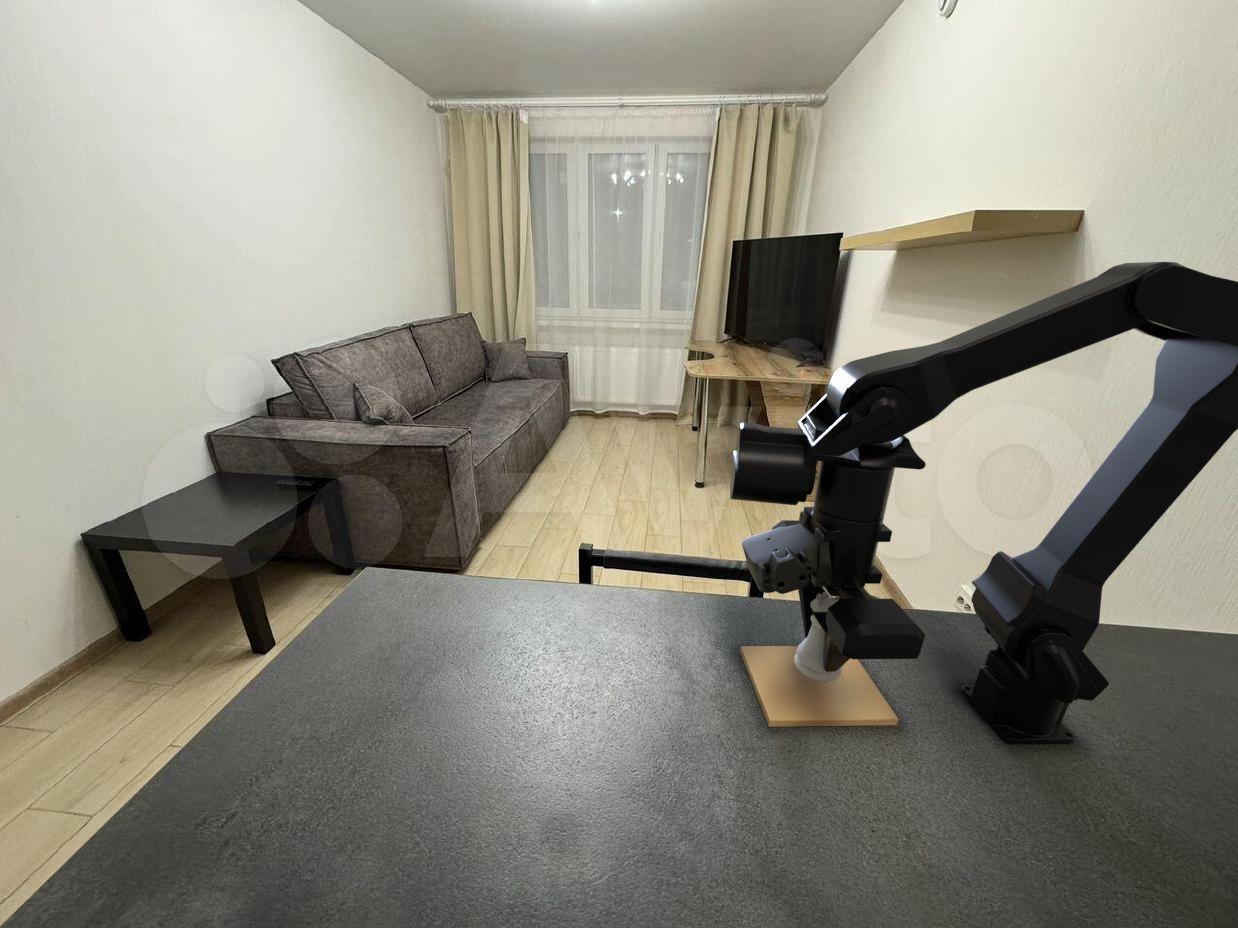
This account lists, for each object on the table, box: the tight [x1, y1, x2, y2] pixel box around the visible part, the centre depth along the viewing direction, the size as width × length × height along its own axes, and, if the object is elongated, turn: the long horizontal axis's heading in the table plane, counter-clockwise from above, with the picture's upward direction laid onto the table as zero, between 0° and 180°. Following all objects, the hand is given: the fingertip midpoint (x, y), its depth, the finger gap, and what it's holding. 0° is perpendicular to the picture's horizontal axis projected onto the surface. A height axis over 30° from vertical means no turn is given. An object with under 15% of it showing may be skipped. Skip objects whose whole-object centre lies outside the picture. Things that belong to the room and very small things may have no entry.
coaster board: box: [739, 645, 899, 728], centre depth 52 cm, size 12×10×1 cm
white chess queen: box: [794, 592, 842, 683], centre depth 50 cm, size 4×4×8 cm
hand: (819, 653), depth 51 cm, fingers closed on white chess queen, 4 cm apart
